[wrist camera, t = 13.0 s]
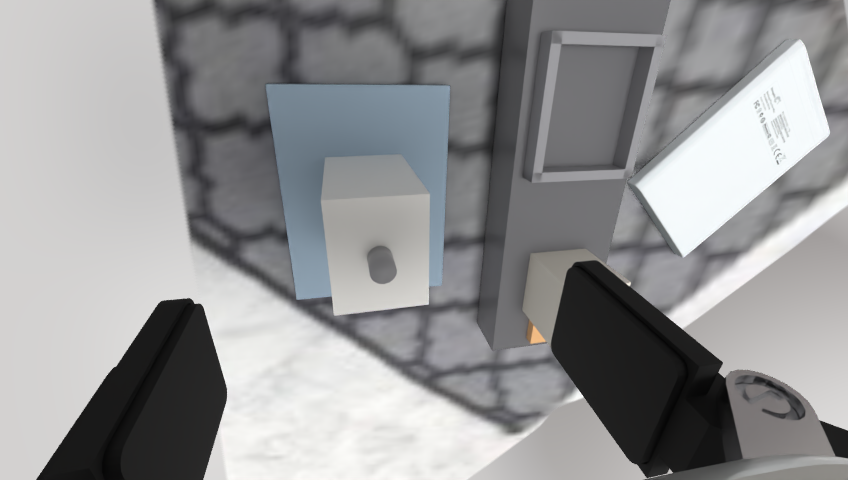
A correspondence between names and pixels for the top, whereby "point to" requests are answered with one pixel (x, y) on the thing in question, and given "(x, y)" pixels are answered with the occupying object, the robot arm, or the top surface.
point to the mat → (353, 136)
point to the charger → (375, 233)
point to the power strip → (561, 151)
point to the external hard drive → (734, 149)
